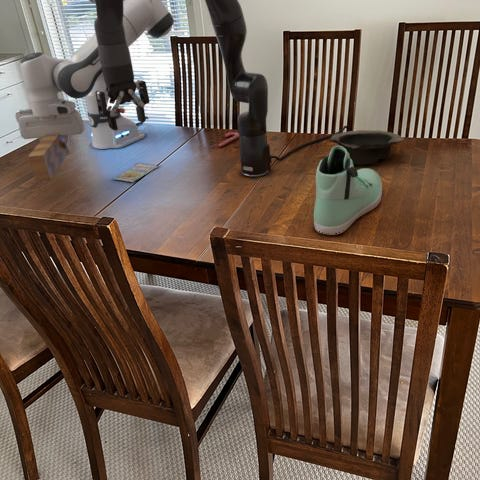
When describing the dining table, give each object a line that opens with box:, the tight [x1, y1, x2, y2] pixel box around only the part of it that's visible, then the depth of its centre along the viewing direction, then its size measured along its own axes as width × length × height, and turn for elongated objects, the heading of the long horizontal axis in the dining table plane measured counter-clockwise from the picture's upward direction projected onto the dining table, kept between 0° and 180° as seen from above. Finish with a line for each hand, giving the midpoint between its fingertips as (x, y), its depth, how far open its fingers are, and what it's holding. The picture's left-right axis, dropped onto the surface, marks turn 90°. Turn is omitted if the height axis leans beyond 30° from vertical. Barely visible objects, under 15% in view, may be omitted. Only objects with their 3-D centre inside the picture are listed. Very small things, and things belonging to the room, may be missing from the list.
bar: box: [27, 135, 70, 182], centre depth 153 cm, size 24×4×8 cm, turn 4°
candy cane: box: [218, 131, 239, 148], centre depth 194 cm, size 6×15×2 cm, turn 145°
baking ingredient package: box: [113, 163, 158, 183], centre depth 172 cm, size 9×1×15 cm
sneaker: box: [313, 145, 383, 236], centre depth 133 cm, size 14×35×20 cm, turn 152°
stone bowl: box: [329, 129, 404, 166], centre depth 169 cm, size 25×25×9 cm
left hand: (57, 148), depth 160 cm, fingers closed on bar, 4 cm apart
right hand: (128, 125), depth 128 cm, fingers open, 8 cm apart
